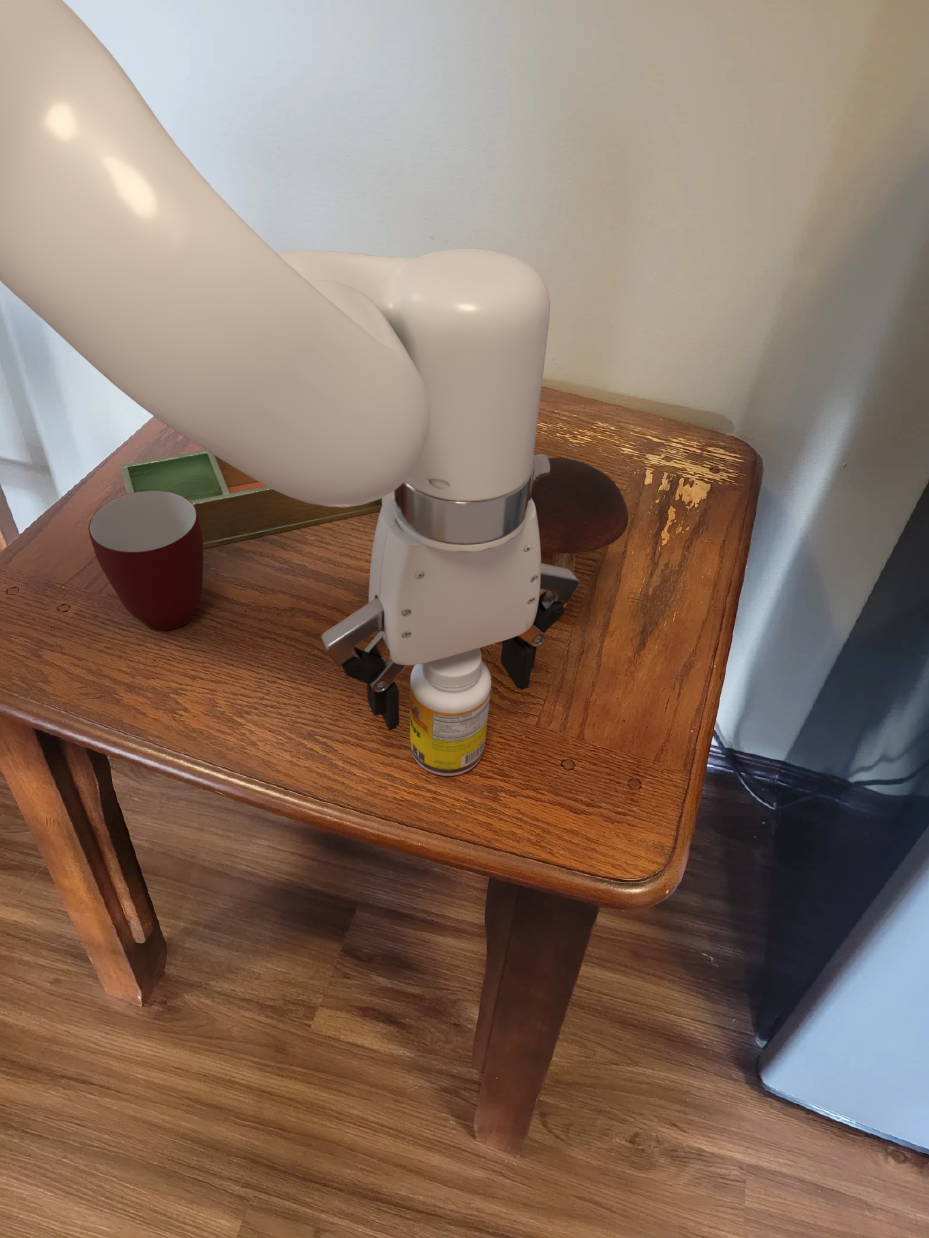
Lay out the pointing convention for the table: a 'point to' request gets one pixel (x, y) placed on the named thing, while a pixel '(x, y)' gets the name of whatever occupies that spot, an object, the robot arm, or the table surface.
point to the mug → (151, 555)
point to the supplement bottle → (449, 712)
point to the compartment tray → (230, 498)
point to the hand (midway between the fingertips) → (451, 694)
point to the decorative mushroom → (576, 512)
